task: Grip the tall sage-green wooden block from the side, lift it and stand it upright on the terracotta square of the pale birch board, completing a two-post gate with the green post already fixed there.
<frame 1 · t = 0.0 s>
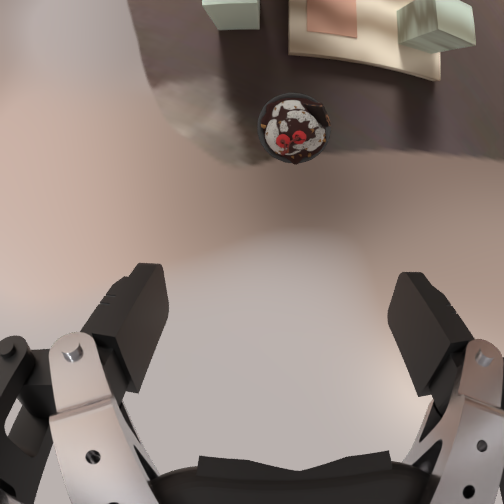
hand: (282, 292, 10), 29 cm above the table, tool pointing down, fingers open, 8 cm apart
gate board: (366, 24, 26), on the table
sundae: (286, 123, 34), on the table
green block: (239, 12, 27), on the table
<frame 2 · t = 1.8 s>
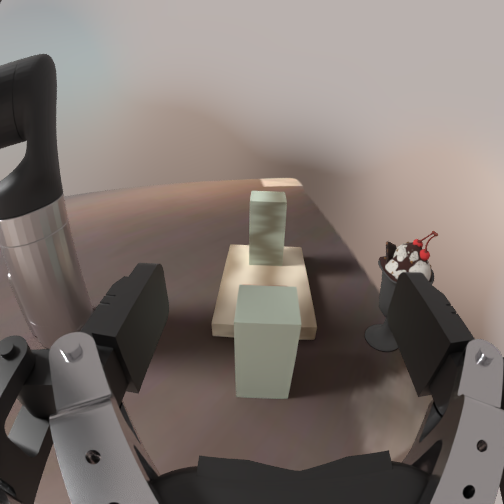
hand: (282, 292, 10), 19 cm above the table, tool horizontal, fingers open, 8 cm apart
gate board: (264, 289, 42), on the table
sundae: (383, 339, 33), on the table
green block: (262, 378, 28), on the table
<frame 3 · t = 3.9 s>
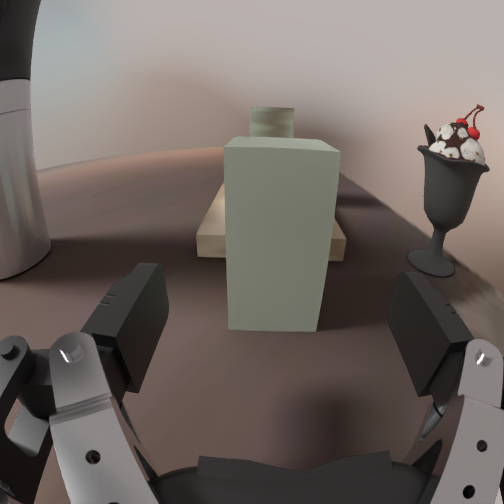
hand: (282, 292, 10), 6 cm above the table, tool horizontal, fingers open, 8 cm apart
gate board: (269, 215, 33), on the table
sundae: (430, 265, 24), on the table
green block: (272, 304, 19), on the table
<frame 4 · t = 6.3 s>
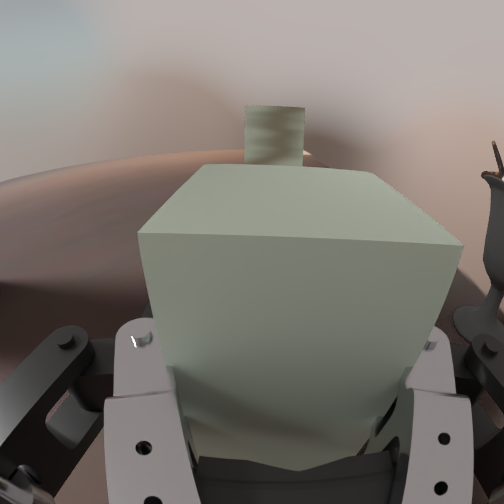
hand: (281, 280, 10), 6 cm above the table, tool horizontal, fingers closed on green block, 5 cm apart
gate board: (271, 253, 25), on the table
sundae: (479, 329, 16), on the table
green block: (271, 431, 11), on the table, touching gripper
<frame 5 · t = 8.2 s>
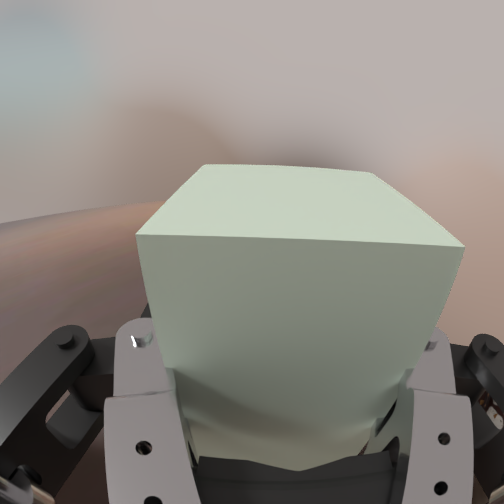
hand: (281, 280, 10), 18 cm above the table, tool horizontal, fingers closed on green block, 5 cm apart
sundae: (436, 477, 15), on the table
green block: (272, 432, 11), point 12 cm above the table, touching gripper
when the fingers open (9 cm above the table, at t = 10.5 s): green block drops 1 cm, resting on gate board.
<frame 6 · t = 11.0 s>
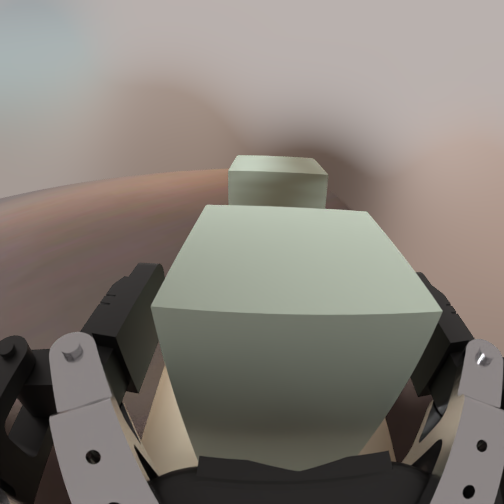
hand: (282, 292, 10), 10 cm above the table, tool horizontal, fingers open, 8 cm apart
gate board: (268, 388, 17), on the table
green block: (270, 443, 11), point 2 cm above the table, touching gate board
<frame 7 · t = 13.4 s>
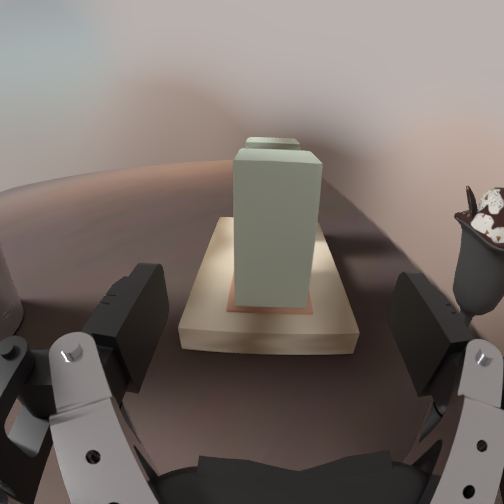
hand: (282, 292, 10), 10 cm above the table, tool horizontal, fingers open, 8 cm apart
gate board: (268, 276, 28), on the table
sundae: (450, 346, 19), on the table
green block: (270, 287, 23), point 2 cm above the table, touching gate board
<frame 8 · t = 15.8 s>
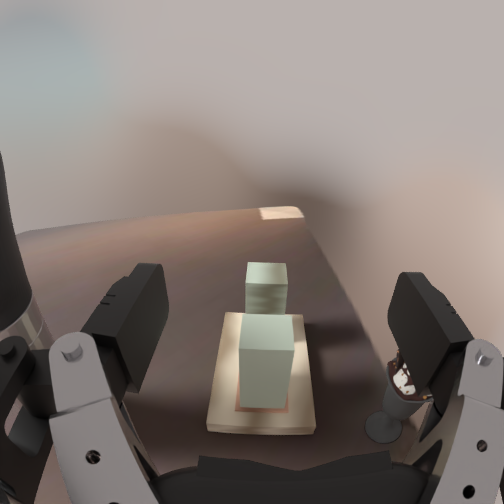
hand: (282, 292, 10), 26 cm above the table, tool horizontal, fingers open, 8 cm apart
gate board: (262, 371, 38), on the table
sundae: (383, 427, 28), on the table
green block: (262, 391, 32), point 2 cm above the table, touching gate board
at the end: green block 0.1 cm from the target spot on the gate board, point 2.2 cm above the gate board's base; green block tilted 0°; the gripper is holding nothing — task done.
